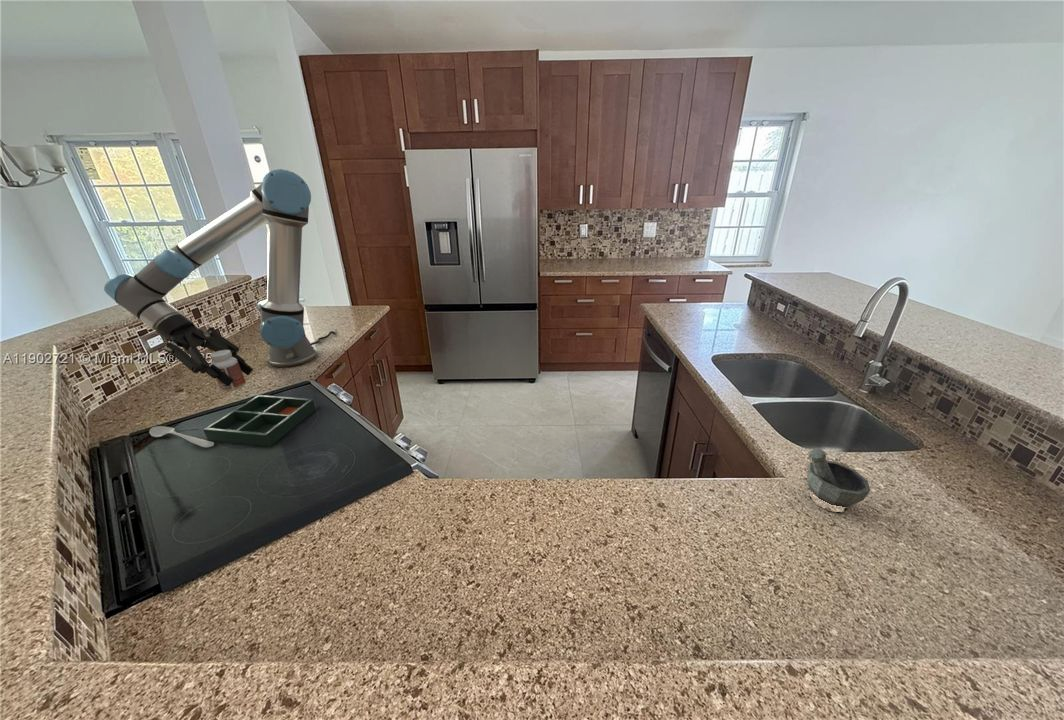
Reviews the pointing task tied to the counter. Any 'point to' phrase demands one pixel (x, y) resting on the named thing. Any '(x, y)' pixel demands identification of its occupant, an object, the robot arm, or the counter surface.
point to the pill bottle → (228, 369)
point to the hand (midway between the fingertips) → (240, 377)
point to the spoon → (163, 430)
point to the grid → (260, 420)
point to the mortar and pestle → (835, 481)
